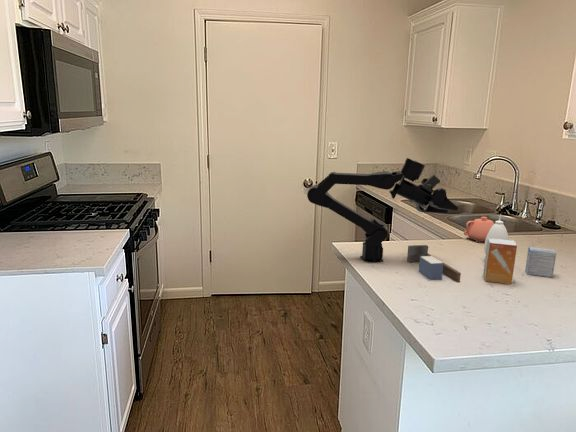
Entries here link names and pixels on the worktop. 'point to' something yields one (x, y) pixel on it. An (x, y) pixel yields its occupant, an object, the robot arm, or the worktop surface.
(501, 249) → the small box
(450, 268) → the book rack
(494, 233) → the sauce bottle
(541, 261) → the medicine box
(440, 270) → the boxed book
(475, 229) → the sugar bowl
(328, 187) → the robot arm
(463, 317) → the worktop surface
